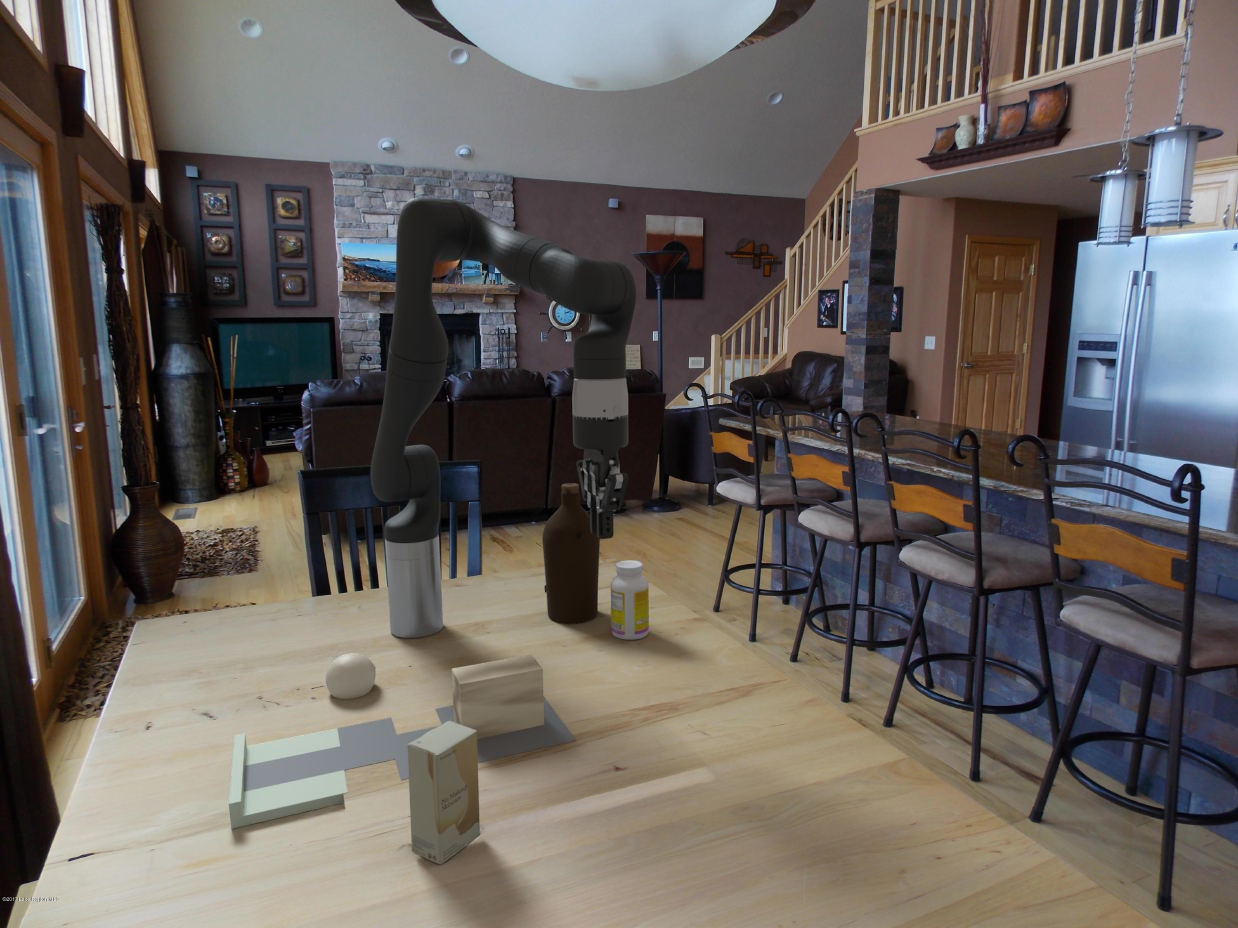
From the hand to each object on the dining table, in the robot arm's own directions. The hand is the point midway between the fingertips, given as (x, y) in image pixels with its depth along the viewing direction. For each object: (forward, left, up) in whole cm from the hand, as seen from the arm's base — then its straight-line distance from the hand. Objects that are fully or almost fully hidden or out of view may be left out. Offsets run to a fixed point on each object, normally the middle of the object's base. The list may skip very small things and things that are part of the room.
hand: (601, 535), depth 110 cm
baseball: (-17, -33, -25) cm, 45 cm away
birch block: (+2, -16, -24) cm, 29 cm away
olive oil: (-35, +8, -25) cm, 44 cm away
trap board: (+2, -28, -25) cm, 37 cm away
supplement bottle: (-22, +14, -25) cm, 36 cm away
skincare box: (+22, -27, -25) cm, 43 cm away
